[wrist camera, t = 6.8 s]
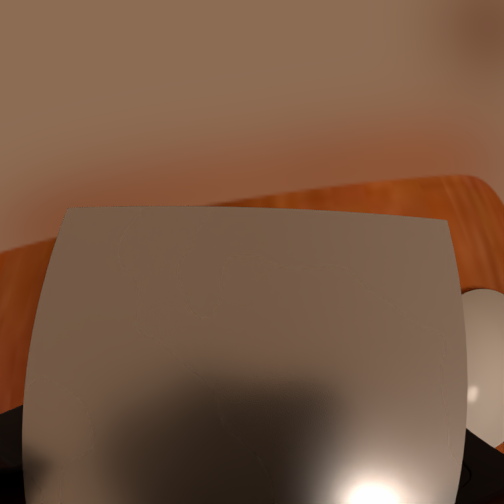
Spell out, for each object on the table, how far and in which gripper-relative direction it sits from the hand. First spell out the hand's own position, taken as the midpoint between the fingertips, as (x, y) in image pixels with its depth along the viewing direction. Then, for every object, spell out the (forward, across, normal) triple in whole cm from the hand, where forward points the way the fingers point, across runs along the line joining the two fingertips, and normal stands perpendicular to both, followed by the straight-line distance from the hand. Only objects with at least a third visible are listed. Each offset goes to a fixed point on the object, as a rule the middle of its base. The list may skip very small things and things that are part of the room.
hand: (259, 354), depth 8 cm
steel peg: (+4, 0, +6) cm, 7 cm away
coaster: (+5, -13, +6) cm, 15 cm away
